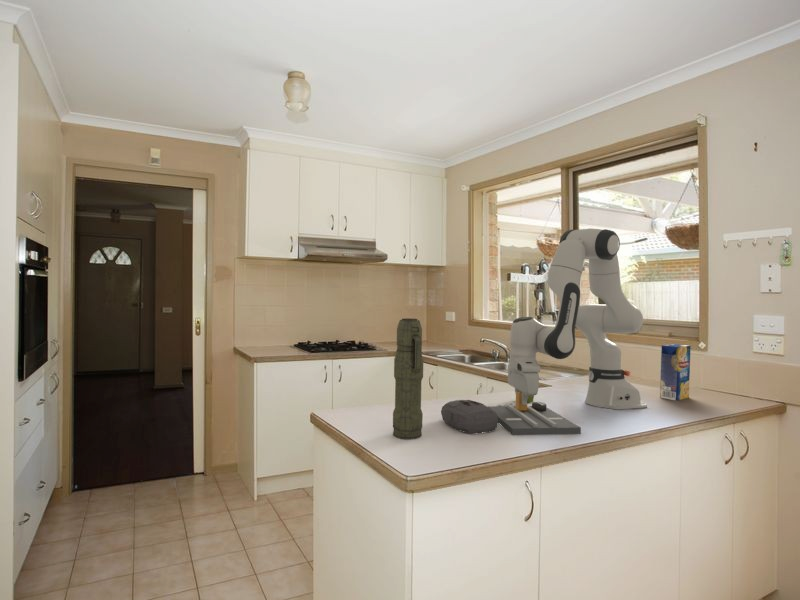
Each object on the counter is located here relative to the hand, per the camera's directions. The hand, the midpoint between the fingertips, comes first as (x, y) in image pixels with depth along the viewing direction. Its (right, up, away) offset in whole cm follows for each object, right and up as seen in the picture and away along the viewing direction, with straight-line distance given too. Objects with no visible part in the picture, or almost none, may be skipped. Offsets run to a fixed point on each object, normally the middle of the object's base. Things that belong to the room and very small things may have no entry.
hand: (521, 402), depth 176 cm
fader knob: (0, -2, 0) cm, 2 cm away
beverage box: (+73, -5, +35) cm, 81 cm away
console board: (+1, -5, -8) cm, 9 cm away
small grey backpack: (-21, -5, -13) cm, 25 cm away
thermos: (-40, -5, -25) cm, 48 cm away
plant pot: (+7, -4, +23) cm, 25 cm away
